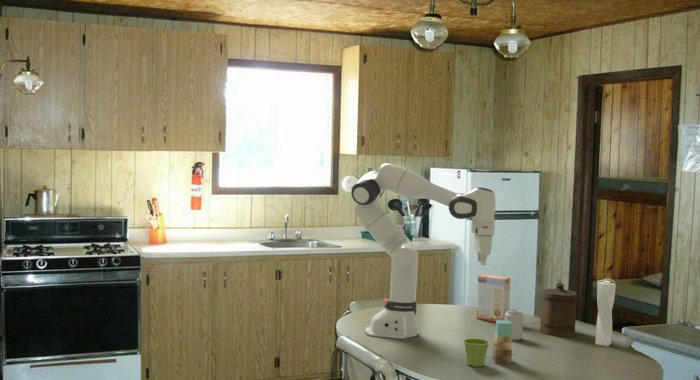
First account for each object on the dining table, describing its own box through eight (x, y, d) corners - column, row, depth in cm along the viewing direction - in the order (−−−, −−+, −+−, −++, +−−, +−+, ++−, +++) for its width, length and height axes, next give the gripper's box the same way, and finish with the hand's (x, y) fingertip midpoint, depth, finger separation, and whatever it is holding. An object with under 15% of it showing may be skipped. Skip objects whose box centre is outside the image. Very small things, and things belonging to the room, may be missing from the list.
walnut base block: (495, 363, 273) (495, 350, 272) (492, 358, 279) (493, 345, 278) (511, 364, 272) (511, 350, 272) (508, 359, 278) (509, 346, 278)
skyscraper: (610, 347, 301) (613, 279, 299) (591, 344, 305) (595, 277, 303) (614, 343, 308) (618, 277, 306) (596, 340, 312) (600, 275, 310)
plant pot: (459, 360, 274) (460, 337, 274) (484, 361, 275) (485, 338, 275) (466, 368, 265) (467, 344, 264) (491, 368, 266) (492, 345, 265)
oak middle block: (496, 349, 273) (496, 336, 272) (493, 345, 278) (494, 332, 278) (511, 350, 272) (511, 337, 272) (508, 346, 278) (509, 333, 278)
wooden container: (580, 332, 324) (583, 283, 323) (565, 338, 313) (568, 287, 312) (549, 326, 334) (552, 278, 333) (533, 331, 323) (536, 282, 322)
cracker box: (509, 322, 340) (511, 277, 339) (502, 324, 335) (504, 279, 334) (482, 317, 349) (484, 273, 348) (475, 318, 344) (477, 274, 343)
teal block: (497, 336, 273) (498, 323, 272) (495, 333, 278) (495, 320, 277) (511, 337, 272) (511, 323, 272) (508, 333, 277) (509, 320, 277)
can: (522, 341, 306) (523, 313, 305) (503, 340, 307) (505, 311, 306) (521, 337, 313) (523, 309, 312) (503, 335, 314) (505, 308, 314)
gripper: (472, 225, 301) (470, 259, 301) (478, 231, 280) (476, 267, 281) (487, 226, 300) (486, 259, 301) (495, 231, 280) (493, 267, 281)
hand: (481, 263), depth 291 cm, fingers open, 8 cm apart
